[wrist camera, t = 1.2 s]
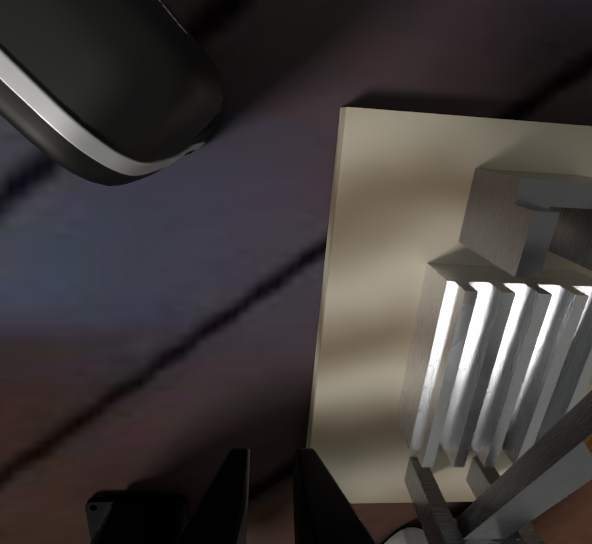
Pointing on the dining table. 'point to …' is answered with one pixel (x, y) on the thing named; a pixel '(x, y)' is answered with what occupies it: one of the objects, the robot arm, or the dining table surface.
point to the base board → (404, 274)
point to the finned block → (494, 361)
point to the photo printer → (408, 537)
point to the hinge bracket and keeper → (519, 263)
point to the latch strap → (534, 480)
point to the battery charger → (106, 85)
